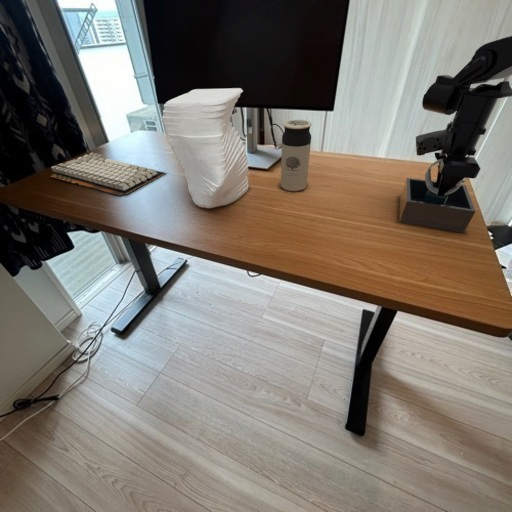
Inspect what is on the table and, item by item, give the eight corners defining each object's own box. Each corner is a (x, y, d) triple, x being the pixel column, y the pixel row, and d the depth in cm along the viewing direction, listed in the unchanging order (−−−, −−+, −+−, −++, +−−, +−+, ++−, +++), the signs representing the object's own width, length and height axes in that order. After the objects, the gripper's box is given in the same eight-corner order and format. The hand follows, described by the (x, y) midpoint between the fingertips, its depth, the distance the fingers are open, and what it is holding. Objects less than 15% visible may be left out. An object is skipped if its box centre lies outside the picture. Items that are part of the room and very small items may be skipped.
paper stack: (259, 180, 87) (257, 88, 70) (226, 225, 67) (211, 112, 51) (201, 173, 92) (186, 86, 76) (155, 213, 73) (121, 108, 57)
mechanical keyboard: (166, 173, 94) (163, 164, 91) (123, 198, 81) (119, 187, 79) (93, 159, 107) (90, 150, 105) (47, 178, 95) (42, 168, 93)
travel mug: (287, 178, 87) (290, 118, 76) (310, 183, 84) (317, 121, 72) (276, 188, 82) (277, 125, 71) (299, 194, 79) (304, 128, 67)
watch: (450, 213, 63) (471, 166, 57) (413, 204, 67) (429, 159, 61) (454, 204, 67) (475, 159, 60) (419, 196, 71) (434, 153, 64)
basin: (455, 205, 71) (465, 185, 68) (463, 233, 62) (476, 211, 58) (399, 197, 76) (406, 177, 72) (399, 222, 66) (407, 201, 62)
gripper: (423, 108, 64) (402, 171, 74) (428, 129, 51) (402, 203, 61) (478, 110, 60) (449, 177, 70) (499, 134, 47) (459, 211, 57)
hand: (439, 190), depth 65 cm, fingers closed on watch, 4 cm apart
